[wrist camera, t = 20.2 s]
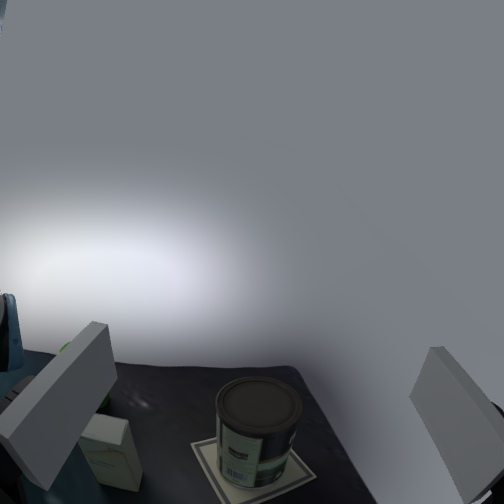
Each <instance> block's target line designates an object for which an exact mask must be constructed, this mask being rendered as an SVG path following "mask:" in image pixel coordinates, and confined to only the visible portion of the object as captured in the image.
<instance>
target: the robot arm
mask: <svg viewBox="0 0 504 504" xmlns="http://www.w3.org/2000/svg"><path fill="white" fill-rule="evenodd" d="M6 3H7V0H0V34H1V29H2V25H3V20H4V14H5V9H6ZM23 365H24V353H23V347H22V341H21V335H20V329H19V321H18V314H17V307H16V300H15V297H14V296H13V295H12V294H7V293H5V294H3V295H2V294H1V291H0V372H6V373H9V372H10V371H12V370H16V369H20V368H21V367H22V366H23ZM117 378H118V377H117V373H116V368H115V363H114V358H113V353H112V347H111V341H110V335H109V329H108V324H103V323H98V322H93V321H92V322H91V323H90V324H89V325H88V326H87V327H86V328H85V329H83V330H82V331H81V332H80V333H79V334H78V335H77V336H76V337H75V338H74V339H73V340H72V341H71V342H70V343H69V344H68V345H67V346H66V347H65V348H64V349H63V350H62V351H61V352H60V353H59V354H58V355H57V356H56V357H55V358H54V359H53V360H52V361H51V362H50V363H49V364H48V365H47V366H46V367H45V368H44V369H43V370H42V371H41V372H40V373H39V374H38V375H37V376H36V377H35V376H33V375H30V376H28V377H27V378H25V379H23V380H21V381H19V382H18V383H17V384H16V385H15V387H14V388H13V389H12V391H10V392H9V393H8V394H7V395H6V396H5V398H3V399H2V400H1V401H0V504H27V502H26V498H25V493H24V489H23V484H22V481H21V479H20V477H19V476H20V474H21V473H22V472H23V473H24V475H25V476H26V477H27V478H28V479H29V481H30V482H32V483H34V484H36V485H37V486H39V487H41V488H42V489H44V490H46V491H48V490H49V488H50V487H51V485H52V483H53V481H54V480H55V478H56V476H57V474H58V473H59V471H60V469H61V468H62V466H63V464H64V463H65V461H66V459H67V457H68V456H69V454H70V452H71V451H72V449H73V448H74V446H75V444H76V443H77V441H78V439H79V438H80V436H81V434H82V433H83V431H84V430H85V428H86V426H87V425H88V423H89V422H90V420H91V418H92V417H93V415H94V414H95V412H96V411H97V409H98V407H99V406H100V404H101V403H102V401H103V400H104V398H105V397H106V395H107V393H108V392H109V390H110V389H111V387H112V386H113V384H114V383H115V381H116V380H117ZM409 397H410V399H411V401H412V402H413V404H414V406H415V408H416V410H417V411H418V413H419V415H420V417H421V418H422V420H423V422H424V424H425V426H426V428H427V430H428V432H429V433H430V435H431V437H432V439H433V441H434V443H435V445H436V447H437V448H438V451H439V452H440V455H441V457H442V459H443V461H444V462H445V465H446V466H447V468H448V471H449V473H450V475H451V477H452V479H453V481H454V483H455V485H456V487H457V489H458V492H459V494H460V496H461V498H462V500H463V503H464V504H471V503H473V502H475V501H477V500H479V499H481V498H482V497H483V496H484V495H485V494H486V493H487V492H488V491H489V490H491V492H492V494H491V495H490V496H489V497H488V498H487V499H486V500H485V501H484V502H482V503H481V504H504V412H503V410H502V409H501V408H500V407H498V406H497V405H496V404H494V403H493V402H491V401H490V400H489V399H488V398H487V396H486V395H485V394H484V393H483V392H482V390H481V389H480V388H479V387H478V386H477V384H476V383H475V382H474V381H473V380H472V378H471V377H470V376H469V375H468V374H467V373H466V371H465V370H464V369H463V368H462V367H461V366H460V364H459V363H458V362H457V361H456V360H455V359H454V358H453V357H452V355H451V354H450V353H449V352H448V351H447V350H446V349H445V348H444V347H430V349H429V352H428V355H427V357H426V360H425V362H424V365H423V367H422V369H421V372H420V374H419V377H418V379H417V381H416V383H415V385H414V388H413V390H412V392H411V394H410V396H409Z"/></svg>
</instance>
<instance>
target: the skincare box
mask: <svg viewBox="0 0 504 504" xmlns="http://www.w3.org/2000/svg"><path fill="white" fill-rule="evenodd" d="M78 444H79V446H80V448H81V450H82V452H83V454H84V456H85V458H86V460H87V462H88V464H89V466H90V468H91V469H92V471H93V473H94V475H95V477H96V478H97V480H98V482H99V483H102V484H106V485H109V486H113V487H117V488H121V489H126V490H130V491H135V492H138V491H139V487H140V483H141V478H142V473H143V470H142V467H141V464H140V461H139V458H138V455H137V451H136V448H135V444H134V441H133V437H132V433H131V430H130V426H129V421H128V420H126V419H121V418H116V417H111V416H107V415H102V414H97V413H95V414H94V415H93V417H92V418H91V420H90V422H89V423H88V425H87V426H86V428H85V430H84V431H83V433H82V434H81V436H80V438H79V439H78Z"/></svg>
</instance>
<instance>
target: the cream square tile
mask: <svg viewBox="0 0 504 504" xmlns="http://www.w3.org/2000/svg"><path fill="white" fill-rule="evenodd" d="M190 445H191V447H192V449H193V451H194V453H195V455H196V457H197V459H198V461H199V463H200V465H201V467H202V469H203V471H204V472H205V474H206V476H207V478H208V480H209V482H210V483H211V485H212V487H213V489H214V491H215V492H216V494H217V496H218V498H219V499H220V501H221V503H222V504H259V503H262V502H264V501H267V500H269V499H272V498H274V497H277V496H279V495H281V494H284V493H286V492H288V491H290V490H292V489H295V488H297V487H299V486H301V485H303V484H305V483H307V482H309V481H311V480H313V479H315V478H317V476H316V475H315V474H314V473H313V472H312V471H311V470H310V469H309V468H308V467H307V466H306V464H305V463H304V462H303V461H302V460H301V459H300V458H299V457H298V455H297V454H296V453H295V452H294V451H293V450H292V449H291V451H290V454H289V457H288V461H287V464H286V468H285V472H284V474H283V476H282V478H281V479H280V480H279V481H278V482H277V483H275V484H274V485H272V486H270V487H268V488H265V489H260V490H245V489H240V488H237V487H235V486H233V485H231V484H229V483H228V482H226V481H225V480H224V479H223V478H222V477H221V476H220V474H219V472H218V470H217V465H216V461H217V437H216V438H212V439H208V440H204V441H200V442H196V443H191V444H190Z"/></svg>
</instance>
